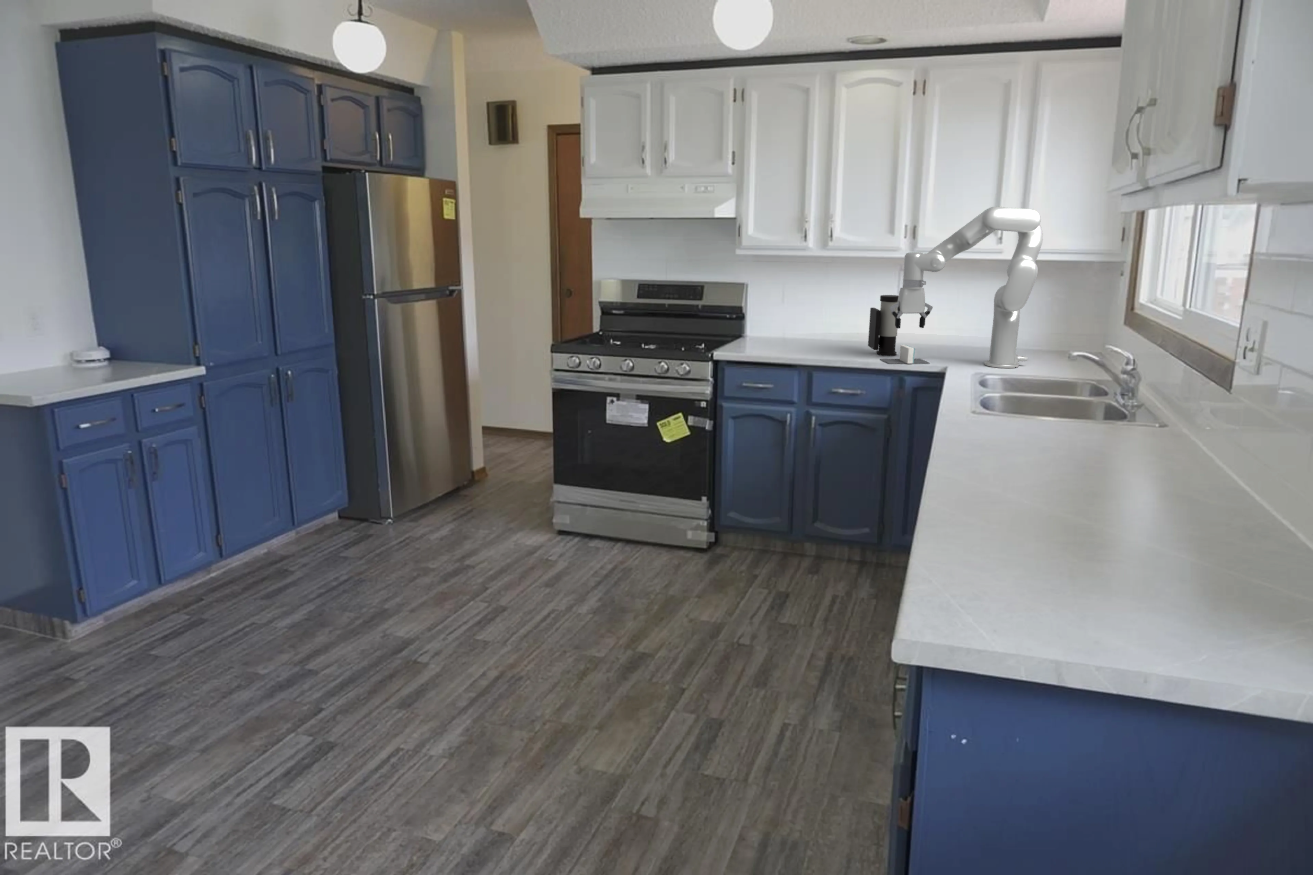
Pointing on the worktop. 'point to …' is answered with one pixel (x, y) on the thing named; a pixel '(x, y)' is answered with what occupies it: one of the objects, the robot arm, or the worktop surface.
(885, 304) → the light fixture
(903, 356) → the deck
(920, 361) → the mat
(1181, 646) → the worktop surface
